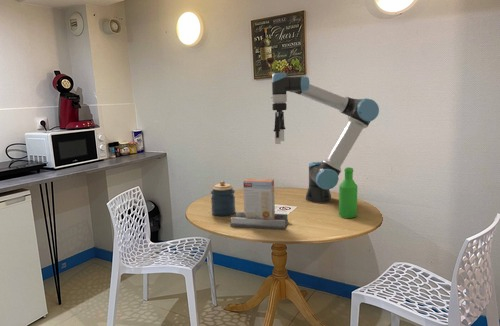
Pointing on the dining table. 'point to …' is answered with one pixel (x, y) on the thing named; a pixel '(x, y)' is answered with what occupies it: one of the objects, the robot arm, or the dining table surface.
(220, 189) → the canister
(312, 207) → the dining table surface
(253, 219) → the grey long shallow tray
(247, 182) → the cracker box
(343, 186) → the bottle
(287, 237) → the dining table surface
